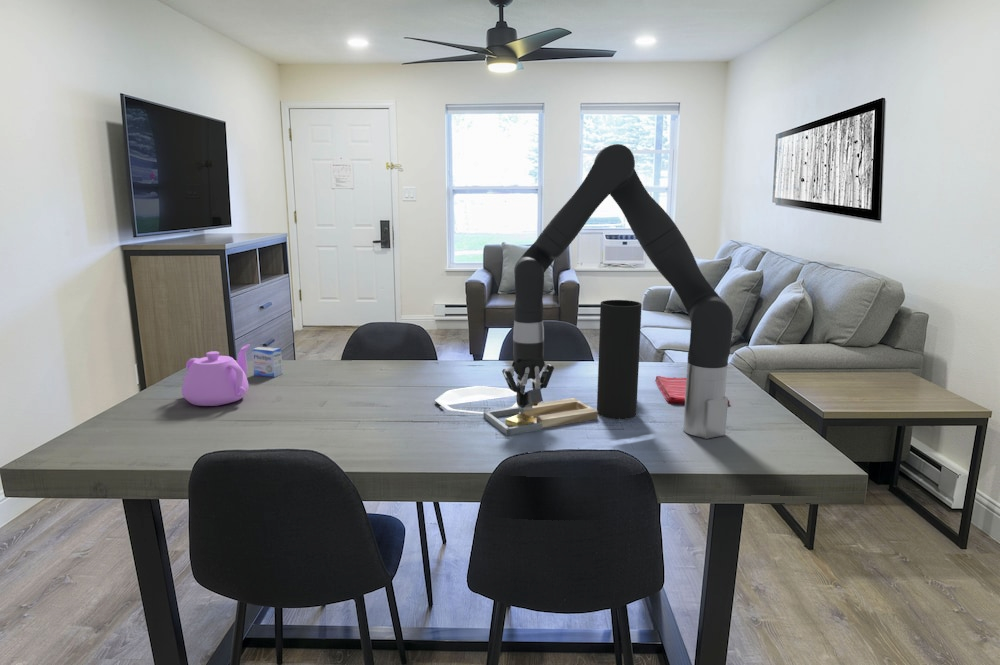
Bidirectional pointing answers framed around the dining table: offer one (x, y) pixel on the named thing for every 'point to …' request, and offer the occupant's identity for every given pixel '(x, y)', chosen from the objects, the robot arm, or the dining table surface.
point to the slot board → (561, 412)
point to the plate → (472, 396)
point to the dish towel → (673, 389)
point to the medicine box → (267, 361)
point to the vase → (618, 358)
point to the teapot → (215, 379)
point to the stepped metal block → (531, 399)
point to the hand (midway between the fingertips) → (528, 405)
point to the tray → (501, 426)
